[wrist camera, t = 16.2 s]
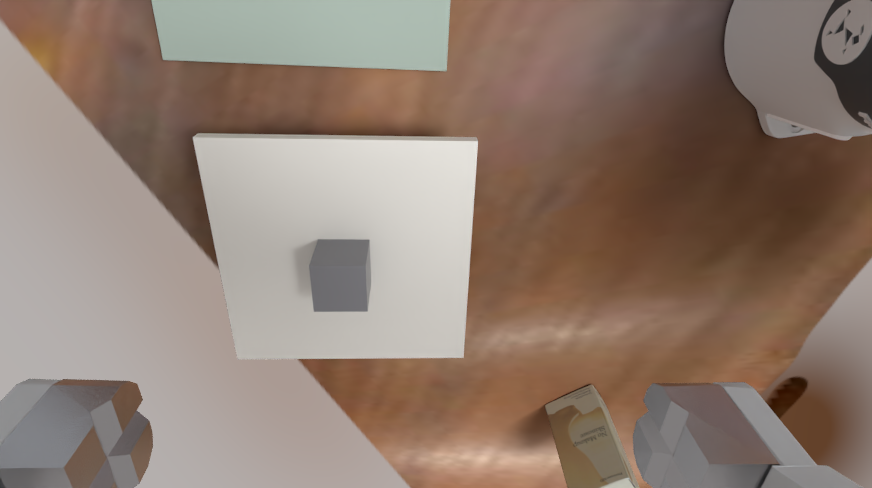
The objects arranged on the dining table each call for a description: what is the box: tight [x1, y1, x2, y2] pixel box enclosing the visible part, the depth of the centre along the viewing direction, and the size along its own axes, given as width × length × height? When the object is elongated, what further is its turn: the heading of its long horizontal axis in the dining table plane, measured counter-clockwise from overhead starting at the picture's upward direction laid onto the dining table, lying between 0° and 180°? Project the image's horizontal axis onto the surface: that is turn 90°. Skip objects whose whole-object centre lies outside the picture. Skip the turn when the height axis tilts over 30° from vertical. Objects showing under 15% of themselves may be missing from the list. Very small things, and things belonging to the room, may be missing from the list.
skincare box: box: [545, 385, 639, 488], centre depth 55 cm, size 6×4×12 cm
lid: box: [193, 133, 478, 359], centre depth 40 cm, size 20×20×5 cm
